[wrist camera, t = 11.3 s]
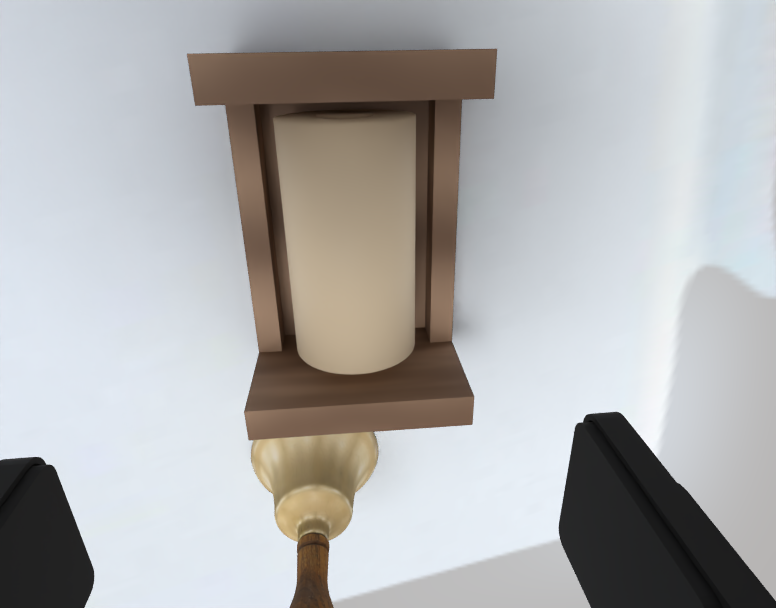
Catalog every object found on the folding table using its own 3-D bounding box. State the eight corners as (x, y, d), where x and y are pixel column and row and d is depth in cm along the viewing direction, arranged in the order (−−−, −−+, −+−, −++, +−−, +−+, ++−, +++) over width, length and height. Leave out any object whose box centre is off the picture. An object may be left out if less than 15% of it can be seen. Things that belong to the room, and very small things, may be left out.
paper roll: (278, 108, 25) (266, 124, 19) (405, 105, 25) (427, 119, 20) (299, 321, 30) (294, 380, 24) (406, 314, 30) (423, 371, 25)
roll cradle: (230, 54, 25) (186, 53, 17) (451, 50, 25) (497, 48, 18) (268, 351, 31) (248, 440, 24) (441, 341, 32) (472, 424, 25)
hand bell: (400, 428, 35) (446, 690, 20) (344, 514, 38) (351, 798, 23) (281, 384, 33) (240, 645, 18) (232, 479, 35) (162, 770, 21)
